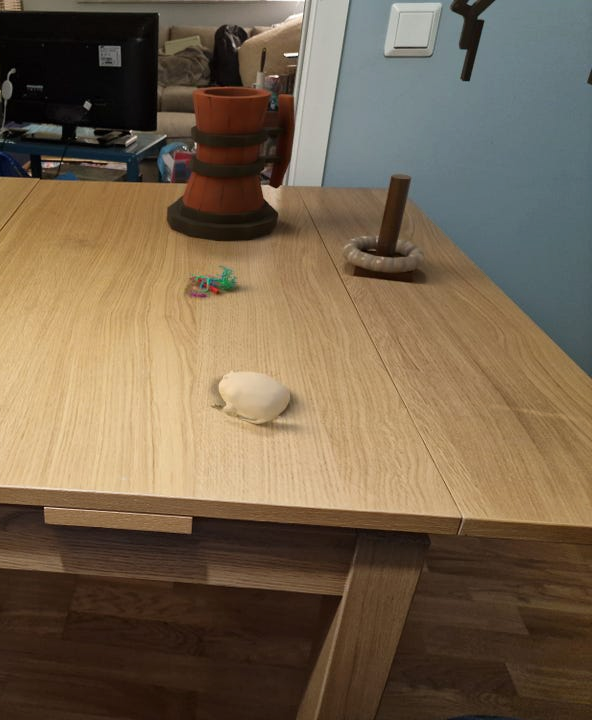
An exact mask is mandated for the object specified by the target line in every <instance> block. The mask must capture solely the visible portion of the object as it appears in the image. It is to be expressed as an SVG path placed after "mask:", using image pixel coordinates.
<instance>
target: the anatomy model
mask: <svg viewBox="0 0 592 720" xmlns="http://www.w3.org/2000/svg"><path fill="white" fill-rule="evenodd" d="M218 268H222V269H223V271H222V272H221V274H217V273H216V276H217V277H220V278H213V277H211V276H208V275H196V274H192V273H190V274H189V276H190V277H185V279H188V280H192V283H194V282H195V280H196V282H198V283H200V285H199V287H198V286H197V285H196V286H195V285H194V286H192V289H194V290H200V293H199V294H196V293H195V292H193V291H190V292H189V294H190V295H192V297H198V298H205V297H207V294H205V293H206V292H208V291H209V290H210V291H212V292H213V293H215V294H216V295H219V294H220V290H219V289H218V288H216V287H217V286H218V284H217V283H215V282H218V283H219V288H222V290H224V291H225V290H231V289H232V288H233V289H234V290H235V289H236V285H237V283H238V282H237V279H238V277H237V276H236V275H234V274H235V271H234V269H233V268H231V267H226V266H224V265H219V266H218ZM232 275H233V276H232ZM203 286H204V287H205V288H206V290H203V291H201V290H202V289H203Z"/></svg>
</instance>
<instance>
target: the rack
mask: <svg viewBox="0 0 592 720" xmlns="http://www.w3.org/2000/svg"><path fill="white" fill-rule="evenodd" d="M411 182H412V176H411V175H407V174H401V173H399V174H398V173H395V174H392V175H390V181H389V185H388V191H387V194H386V199H385V205H384V209H383V213H382V219H381V224H380V229H379V233H378V236H379V238H378V243H377V248H376V250H361V251H362V252H364V253H368V254H371V255H374V256H380V257H390V258H398V257H405V256H403V255H401V254H397V253H395V251H396V246H397V242H398V239H399V238H400V233H401V227H402V222H403V219H404V214H405V208H406V205H407V201H408V196H409V192H410V187H411ZM352 274H353V275H352V276H356V277H365V278H374V279H383V280H391V281H400V282H407V283H412V282H413V279H414V275H415V274H414V270H412V271H410V272H399V273H387V272H378V271H371V270H368V269H365V268H361V267H358V266H355V265H353V273H352Z"/></svg>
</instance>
